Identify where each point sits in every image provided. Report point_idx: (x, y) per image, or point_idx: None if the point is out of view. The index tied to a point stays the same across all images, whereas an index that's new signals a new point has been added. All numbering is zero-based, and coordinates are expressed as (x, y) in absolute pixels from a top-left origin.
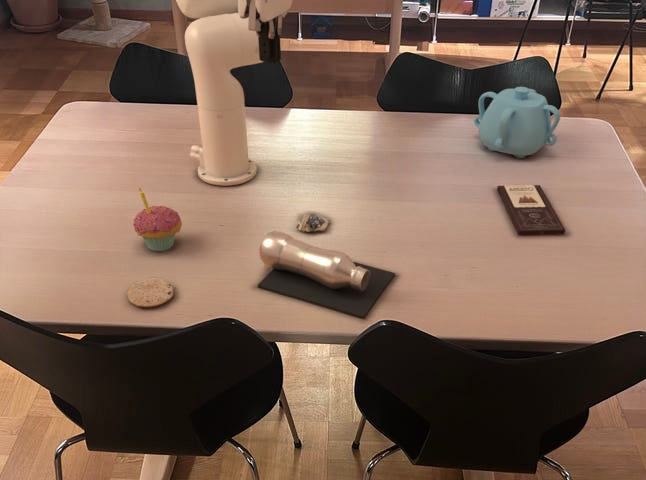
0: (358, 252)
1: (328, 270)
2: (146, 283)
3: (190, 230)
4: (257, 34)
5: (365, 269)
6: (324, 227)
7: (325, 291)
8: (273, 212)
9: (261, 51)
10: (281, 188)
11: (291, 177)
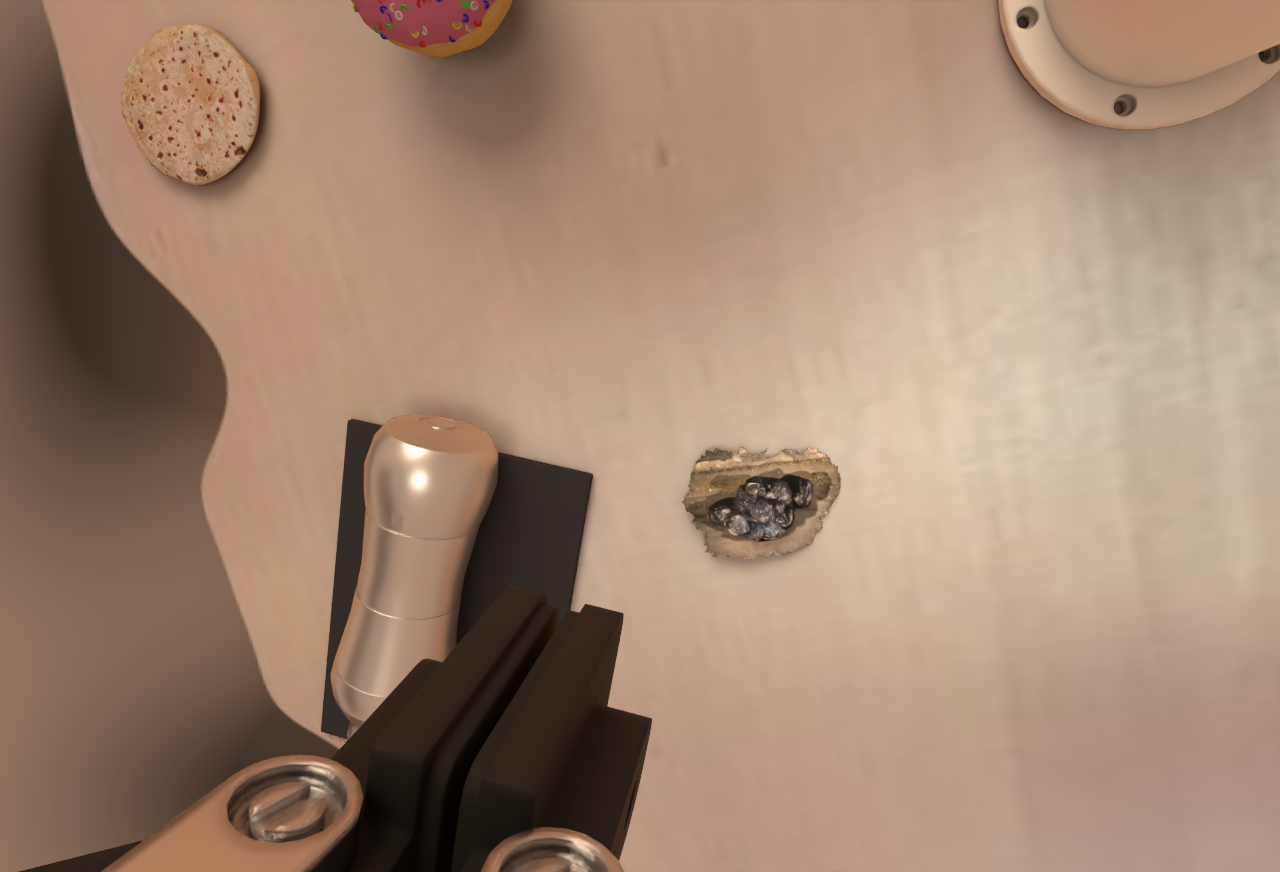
0: (628, 675)
1: (331, 671)
2: (214, 70)
3: (594, 45)
4: (235, 795)
5: None
6: (729, 551)
7: None
8: (816, 325)
9: (399, 688)
10: (1037, 294)
11: (1161, 307)
